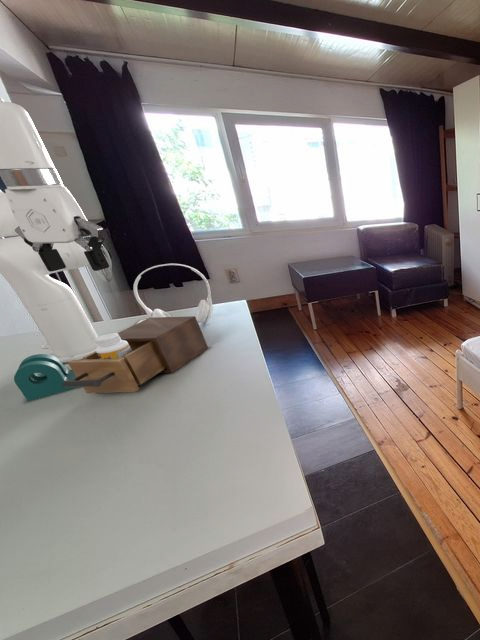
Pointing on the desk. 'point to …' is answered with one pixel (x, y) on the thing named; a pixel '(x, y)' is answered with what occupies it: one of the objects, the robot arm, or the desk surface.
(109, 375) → the drawer
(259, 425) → the desk surface
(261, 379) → the desk surface
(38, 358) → the bracket
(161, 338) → the cabinet
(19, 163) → the robot arm
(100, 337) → the supplement bottle
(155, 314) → the headphones
